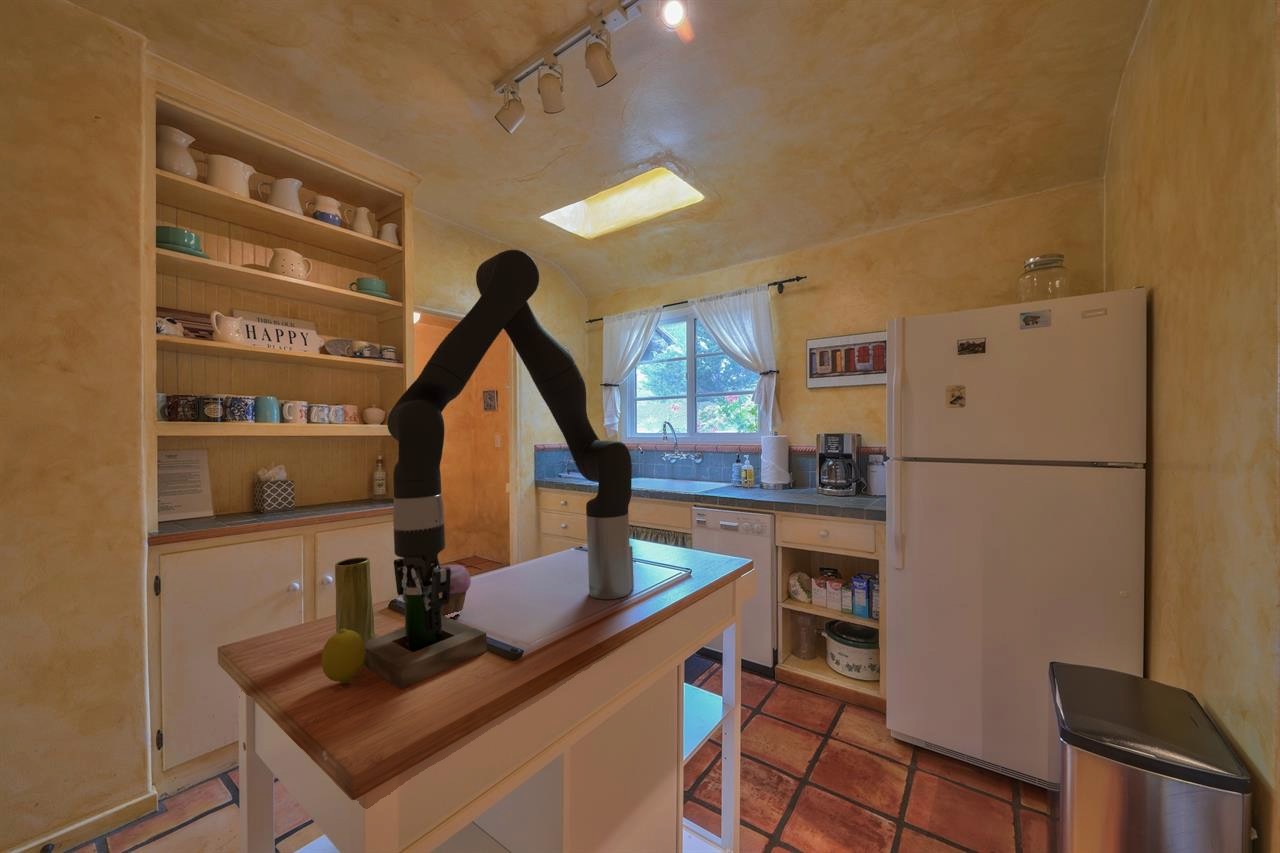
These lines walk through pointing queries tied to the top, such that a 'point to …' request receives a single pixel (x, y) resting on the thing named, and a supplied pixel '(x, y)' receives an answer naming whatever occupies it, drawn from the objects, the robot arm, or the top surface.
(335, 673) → the lemon
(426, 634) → the beer can
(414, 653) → the can holder block
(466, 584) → the cupcake
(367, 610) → the vase
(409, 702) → the top surface
